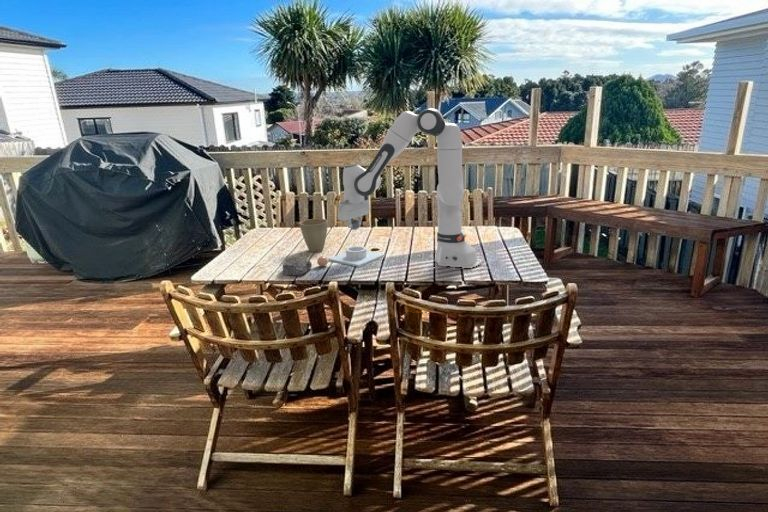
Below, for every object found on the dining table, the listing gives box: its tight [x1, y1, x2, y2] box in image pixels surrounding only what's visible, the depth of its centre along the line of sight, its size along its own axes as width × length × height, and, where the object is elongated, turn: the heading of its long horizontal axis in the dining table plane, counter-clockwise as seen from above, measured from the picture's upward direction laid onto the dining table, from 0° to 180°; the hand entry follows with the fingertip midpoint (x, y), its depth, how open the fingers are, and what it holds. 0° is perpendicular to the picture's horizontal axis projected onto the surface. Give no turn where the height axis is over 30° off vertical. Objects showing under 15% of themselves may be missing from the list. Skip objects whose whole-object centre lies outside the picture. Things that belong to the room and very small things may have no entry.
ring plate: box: [327, 245, 385, 268], centre depth 226 cm, size 20×20×5 cm
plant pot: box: [299, 218, 329, 253], centre depth 241 cm, size 15×15×16 cm
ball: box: [316, 255, 329, 267], centre depth 216 cm, size 5×5×5 cm
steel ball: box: [350, 219, 361, 231], centre depth 221 cm, size 5×5×5 cm
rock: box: [282, 255, 312, 276], centre depth 209 cm, size 13×6×15 cm
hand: (354, 226), depth 222 cm, fingers closed on steel ball, 5 cm apart
